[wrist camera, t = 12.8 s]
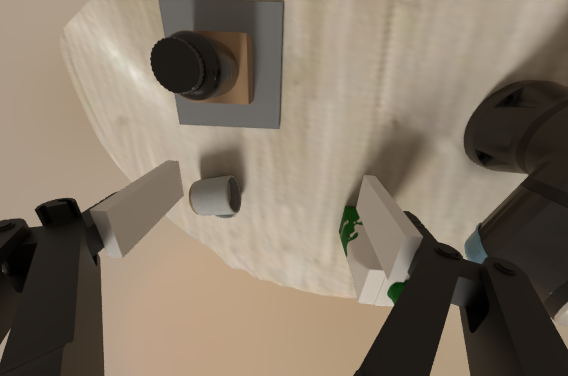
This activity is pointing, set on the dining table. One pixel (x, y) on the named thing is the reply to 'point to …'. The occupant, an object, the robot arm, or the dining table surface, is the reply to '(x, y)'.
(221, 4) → the mat
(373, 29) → the dining table surface
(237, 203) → the ceramic mug
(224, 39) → the walnut block
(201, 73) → the supplement bottle
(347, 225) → the milk carton
